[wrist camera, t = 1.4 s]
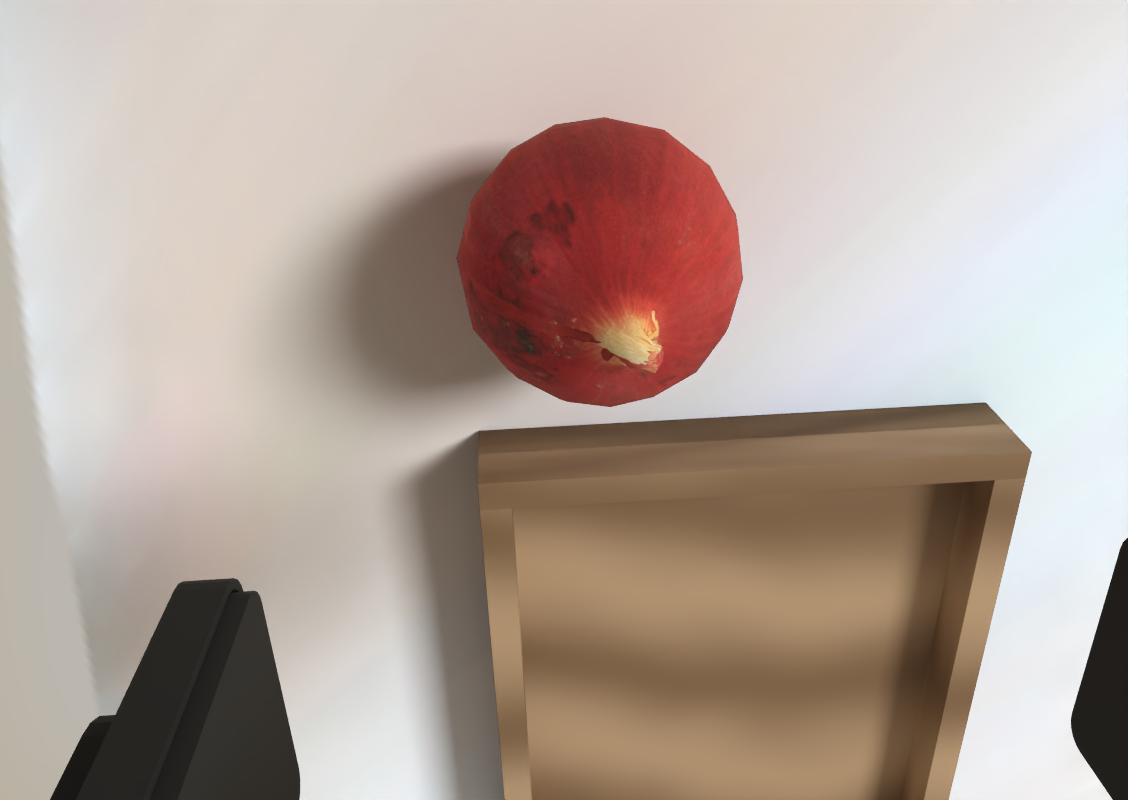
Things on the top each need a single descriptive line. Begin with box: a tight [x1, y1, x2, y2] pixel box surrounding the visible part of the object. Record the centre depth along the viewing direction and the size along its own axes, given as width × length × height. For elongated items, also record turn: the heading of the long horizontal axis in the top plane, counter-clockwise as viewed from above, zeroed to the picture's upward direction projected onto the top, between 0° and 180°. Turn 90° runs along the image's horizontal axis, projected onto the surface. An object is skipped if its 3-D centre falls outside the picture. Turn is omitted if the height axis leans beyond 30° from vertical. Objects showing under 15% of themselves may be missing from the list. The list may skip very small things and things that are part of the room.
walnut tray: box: [477, 403, 1032, 800], centre depth 29 cm, size 16×14×3 cm
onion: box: [457, 117, 743, 407], centre depth 20 cm, size 6×6×8 cm
